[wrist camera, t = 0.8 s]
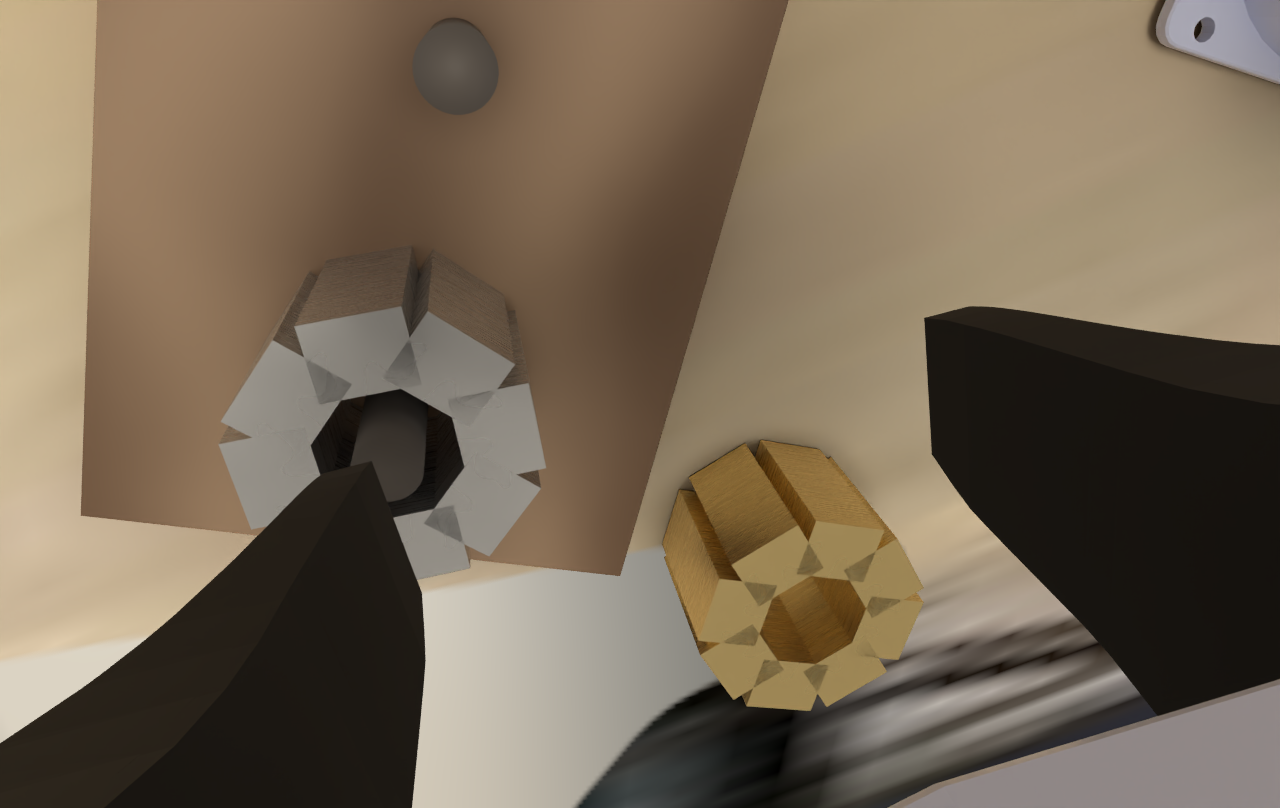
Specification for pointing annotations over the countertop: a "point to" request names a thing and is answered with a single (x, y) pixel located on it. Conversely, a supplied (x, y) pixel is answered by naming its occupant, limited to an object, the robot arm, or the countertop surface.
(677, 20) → the gear board
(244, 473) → the steel gear
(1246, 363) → the robot arm
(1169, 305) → the countertop surface
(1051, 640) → the countertop surface
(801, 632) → the brass gear
